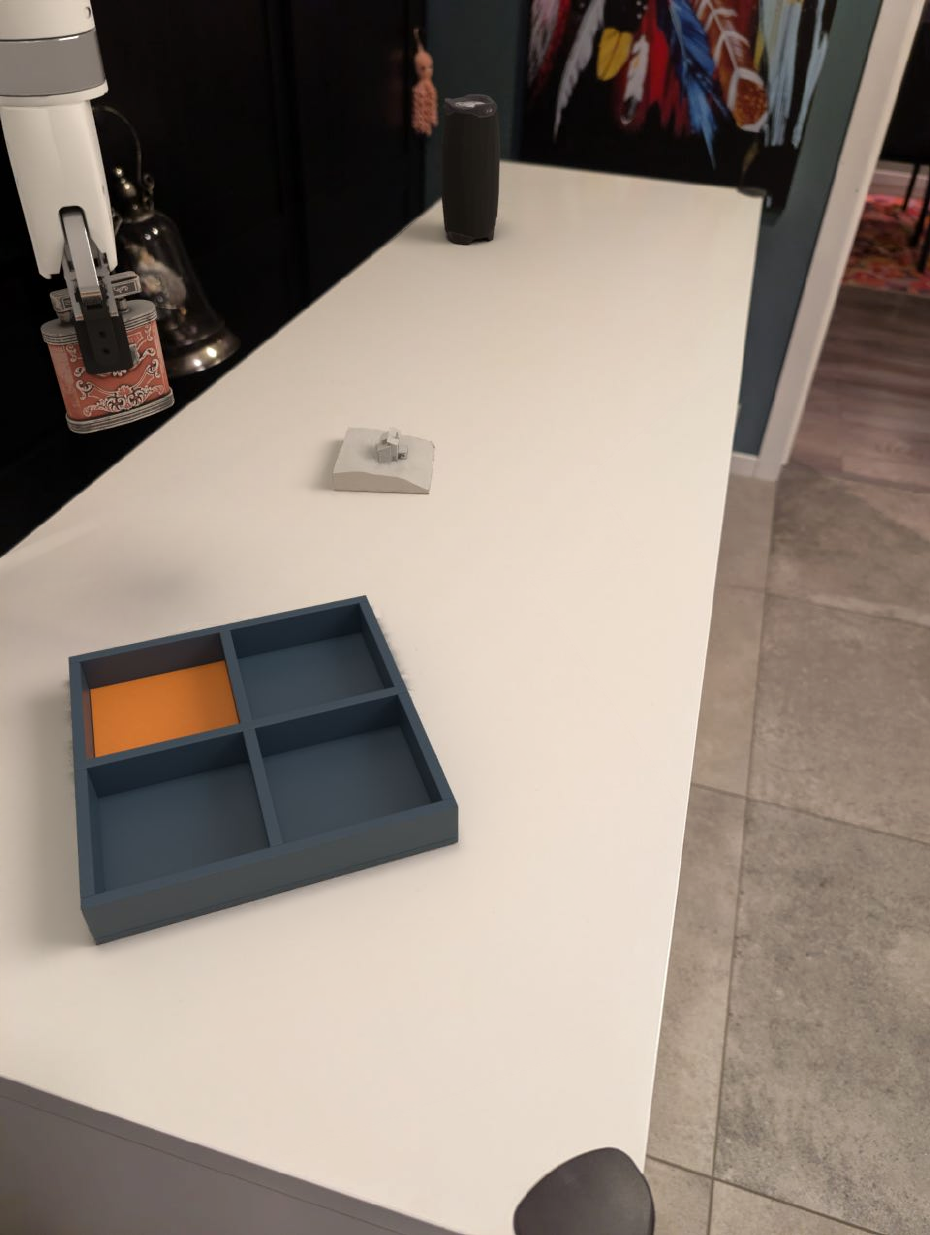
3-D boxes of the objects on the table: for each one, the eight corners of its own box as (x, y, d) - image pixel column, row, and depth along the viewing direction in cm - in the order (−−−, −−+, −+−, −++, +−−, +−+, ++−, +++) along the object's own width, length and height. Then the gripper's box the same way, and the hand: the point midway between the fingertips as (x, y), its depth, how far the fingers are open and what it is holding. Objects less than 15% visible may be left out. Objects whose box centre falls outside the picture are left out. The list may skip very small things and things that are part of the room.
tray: (80, 692, 72) (68, 656, 70) (368, 629, 78) (366, 594, 76) (95, 945, 56) (80, 910, 54) (458, 842, 62) (458, 806, 59)
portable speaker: (433, 243, 150) (431, 103, 137) (455, 225, 156) (455, 90, 144) (485, 249, 147) (487, 108, 135) (505, 231, 154) (509, 95, 141)
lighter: (79, 438, 69) (41, 301, 62) (61, 421, 71) (22, 286, 64) (182, 405, 73) (156, 274, 66) (162, 389, 75) (135, 260, 68)
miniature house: (450, 491, 94) (450, 457, 92) (336, 503, 92) (333, 469, 90) (429, 432, 103) (429, 400, 101) (325, 442, 101) (321, 410, 99)
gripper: (-29, 45, 62) (47, 318, 74) (-35, 100, 50) (57, 417, 62) (92, 39, 64) (147, 306, 76) (114, 91, 52) (176, 399, 64)
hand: (106, 353), depth 69 cm, fingers closed on lighter, 4 cm apart
